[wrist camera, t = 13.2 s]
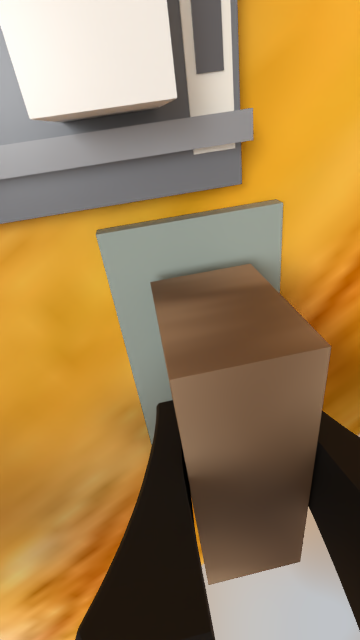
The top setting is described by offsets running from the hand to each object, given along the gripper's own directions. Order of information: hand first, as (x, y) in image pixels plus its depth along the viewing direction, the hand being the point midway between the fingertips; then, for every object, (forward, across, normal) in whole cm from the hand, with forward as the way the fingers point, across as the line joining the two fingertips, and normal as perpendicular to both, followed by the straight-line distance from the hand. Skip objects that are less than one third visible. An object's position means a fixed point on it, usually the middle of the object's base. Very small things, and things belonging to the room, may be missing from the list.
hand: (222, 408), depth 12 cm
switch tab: (+2, +2, -11) cm, 11 cm away
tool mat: (+3, 0, 0) cm, 3 cm away
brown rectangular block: (+2, 0, 0) cm, 2 cm away
